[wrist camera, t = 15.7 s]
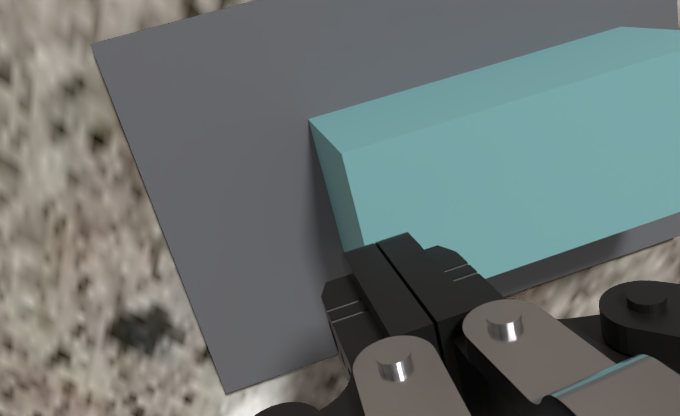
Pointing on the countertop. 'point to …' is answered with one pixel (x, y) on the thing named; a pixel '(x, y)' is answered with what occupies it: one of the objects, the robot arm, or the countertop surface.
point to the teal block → (514, 152)
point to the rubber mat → (308, 144)
